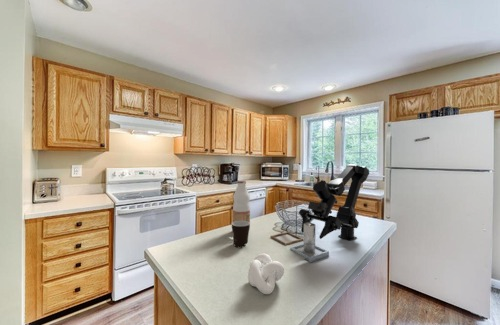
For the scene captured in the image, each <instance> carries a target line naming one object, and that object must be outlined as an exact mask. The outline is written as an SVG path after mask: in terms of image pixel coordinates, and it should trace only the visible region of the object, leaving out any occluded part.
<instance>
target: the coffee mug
mask: <svg viewBox="0 0 500 325" xmlns="http://www.w3.org/2000/svg"><path fill="white" fill-rule="evenodd" d="M230 225H231V231H232V232H231V233H232V241H233V246H234V247H236V248H246V247H247V245H246V244H247V243H248V241H249V233H250V230H249V226H250V227H251V222H250V223H249V222H247V221H234V222H233V221H232V222H231V224H230Z"/></svg>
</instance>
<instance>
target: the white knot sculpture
mask: <svg viewBox="0 0 500 325" xmlns="http://www.w3.org/2000/svg"><path fill="white" fill-rule="evenodd" d="M247 273H248V274H247V279H248V280H247V281H248V283H249V284H250V285H251V287H254V288H257V290H258V291H259V292H260V293H262V294H263V295H271V293H272V292H273V291H274V289H275V285H276V282H279V281H280V280H281V279H282V278H283V276H284V274H285V267H284V265H283V263H281V262H279V261H277V260H272V257H271V256H270V255H269V254H267V253H259V254H257V255H256V256H255V257H254V258H253V259H252V260H251V262H250V264H249V268H248V272H247Z"/></svg>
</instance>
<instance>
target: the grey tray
mask: <svg viewBox="0 0 500 325" xmlns="http://www.w3.org/2000/svg"><path fill="white" fill-rule="evenodd" d="M302 247H303V248H304V243H301V244H298V245H293V246H290V248H289V249H290V250H291V251H293V252H294V253H296V254H298V255H300V256H302V257H303V260H304V261H306V262H308V263H310V264H311V263H313V262H316V261H319V260H321V259H325V258H327V257H329V256H330V251H329V250H327V249H326V248H325V249H324V248H323V247H321V246H319V245H316V244H315V249H317V250H319V251H321V252H320V253H317V254H314V255H312V256H309V255H308V254H306V253H305V252H304V253H303V252H301V251H299V250H297V249H298V248H302Z"/></svg>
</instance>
